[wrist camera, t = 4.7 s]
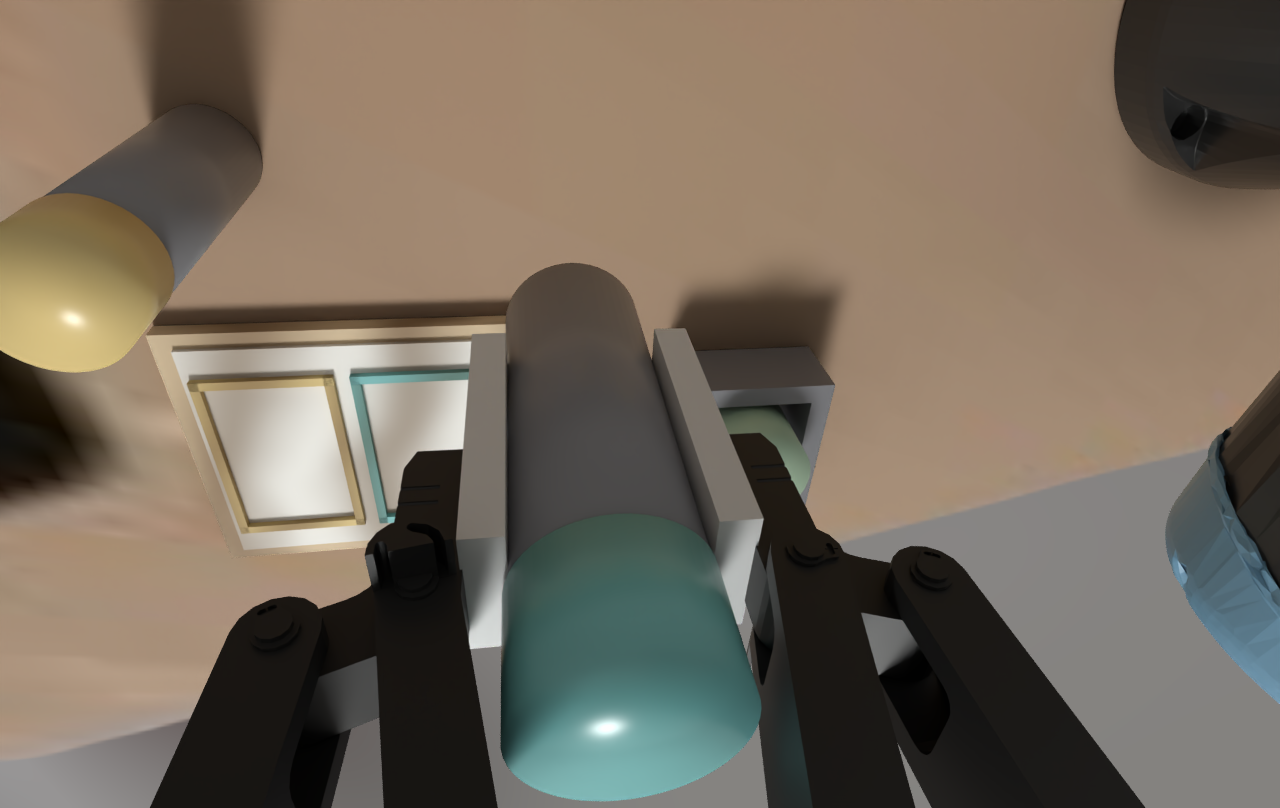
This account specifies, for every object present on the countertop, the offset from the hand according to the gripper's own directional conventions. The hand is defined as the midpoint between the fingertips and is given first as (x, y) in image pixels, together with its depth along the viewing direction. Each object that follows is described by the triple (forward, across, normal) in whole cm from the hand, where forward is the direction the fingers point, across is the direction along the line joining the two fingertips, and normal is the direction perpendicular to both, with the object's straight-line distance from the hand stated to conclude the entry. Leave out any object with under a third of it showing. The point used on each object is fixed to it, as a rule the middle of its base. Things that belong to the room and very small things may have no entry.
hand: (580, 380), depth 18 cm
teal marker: (+3, 0, 0) cm, 3 cm away
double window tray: (+15, +8, +12) cm, 21 cm away
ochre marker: (+14, +13, -1) cm, 19 cm away
